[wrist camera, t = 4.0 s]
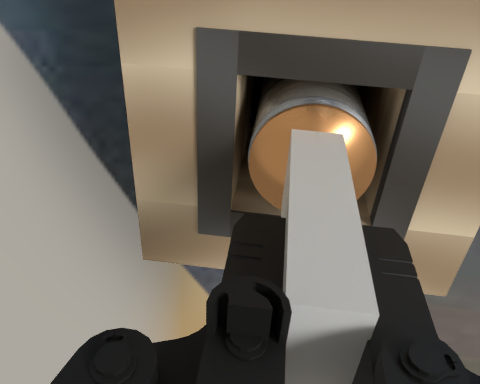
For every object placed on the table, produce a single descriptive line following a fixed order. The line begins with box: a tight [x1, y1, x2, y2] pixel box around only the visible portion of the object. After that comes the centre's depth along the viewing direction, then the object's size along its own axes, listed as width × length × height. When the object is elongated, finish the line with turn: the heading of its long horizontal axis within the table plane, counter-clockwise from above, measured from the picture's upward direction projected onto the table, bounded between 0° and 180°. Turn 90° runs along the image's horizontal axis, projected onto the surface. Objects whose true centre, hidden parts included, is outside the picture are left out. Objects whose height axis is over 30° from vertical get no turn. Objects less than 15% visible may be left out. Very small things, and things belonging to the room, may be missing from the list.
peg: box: [248, 77, 377, 210], centre depth 16 cm, size 4×4×7 cm
